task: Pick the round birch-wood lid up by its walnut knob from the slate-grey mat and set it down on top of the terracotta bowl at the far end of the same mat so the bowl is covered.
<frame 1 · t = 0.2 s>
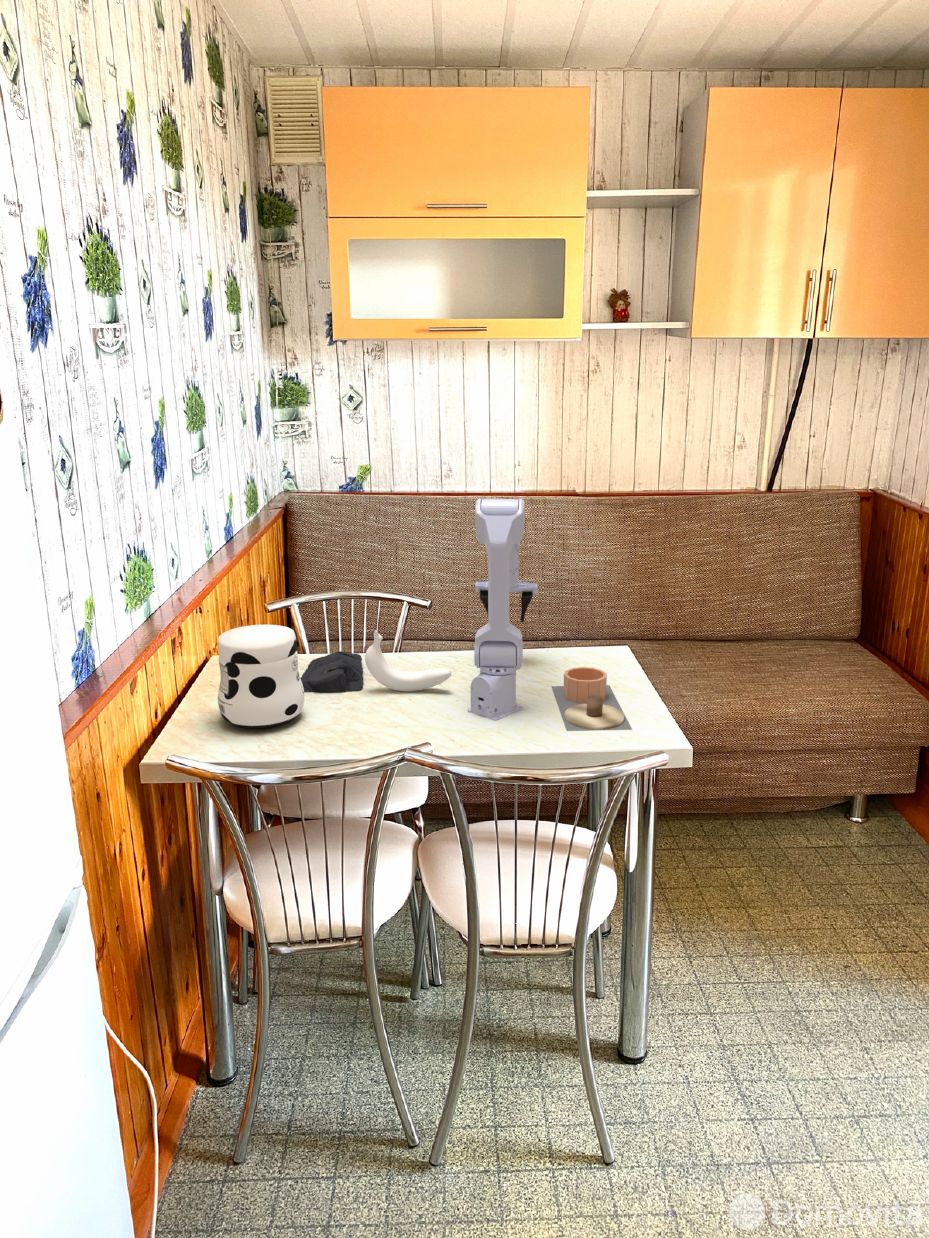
hand: (506, 619, 222), 11 cm above the table, tool pointing down, fingers open, 7 cm apart
milk container: (263, 719, 191), on the table
banana: (409, 692, 206), on the table
lid: (594, 718, 189), resting on mat
dark slate chunk: (333, 679, 216), on the table
bowl: (584, 695, 201), resting on mat
mat: (589, 708, 195), on the table
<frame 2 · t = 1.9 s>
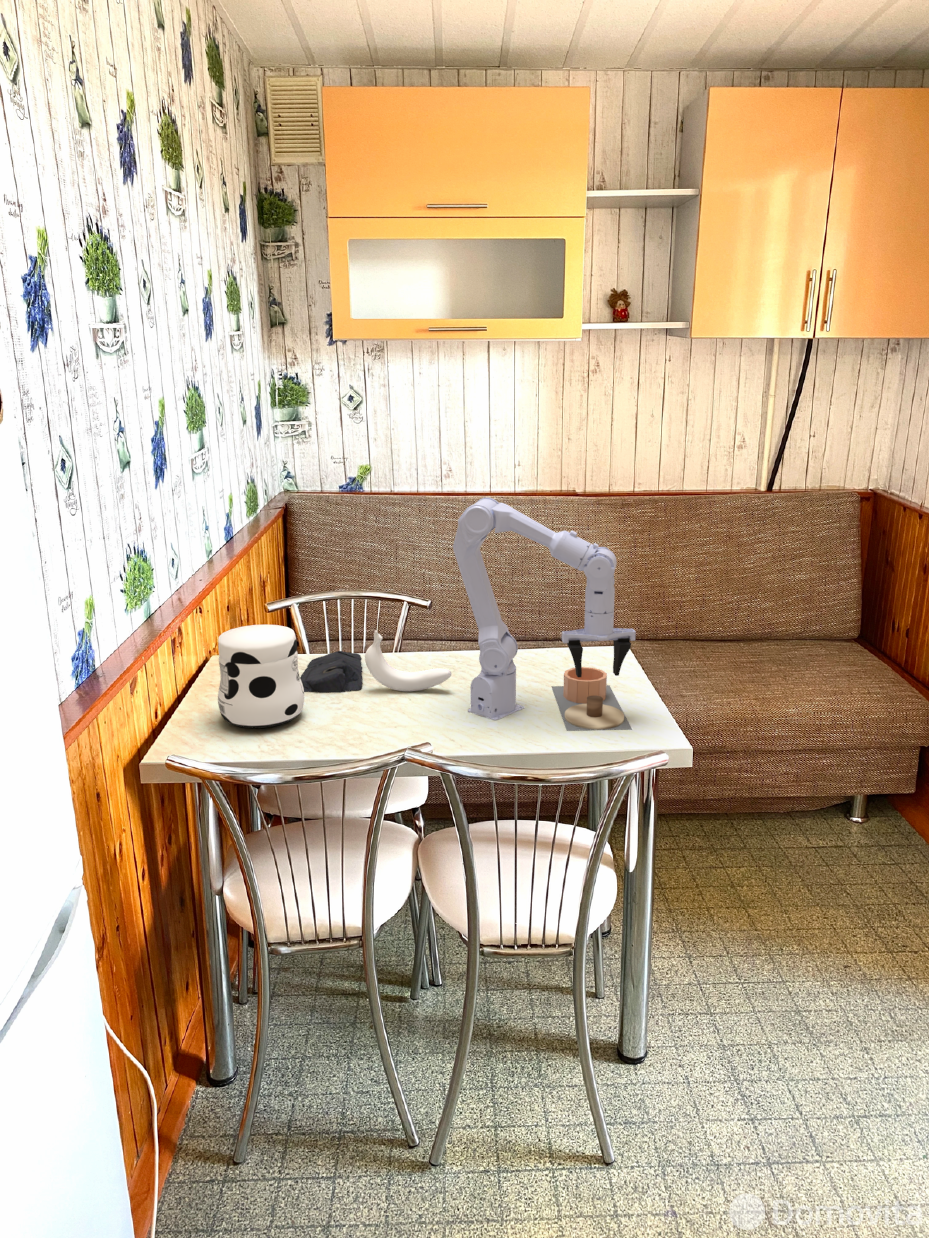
hand: (597, 674, 187), 9 cm above the table, tool pointing down, fingers open, 7 cm apart
nothing on the table moved.
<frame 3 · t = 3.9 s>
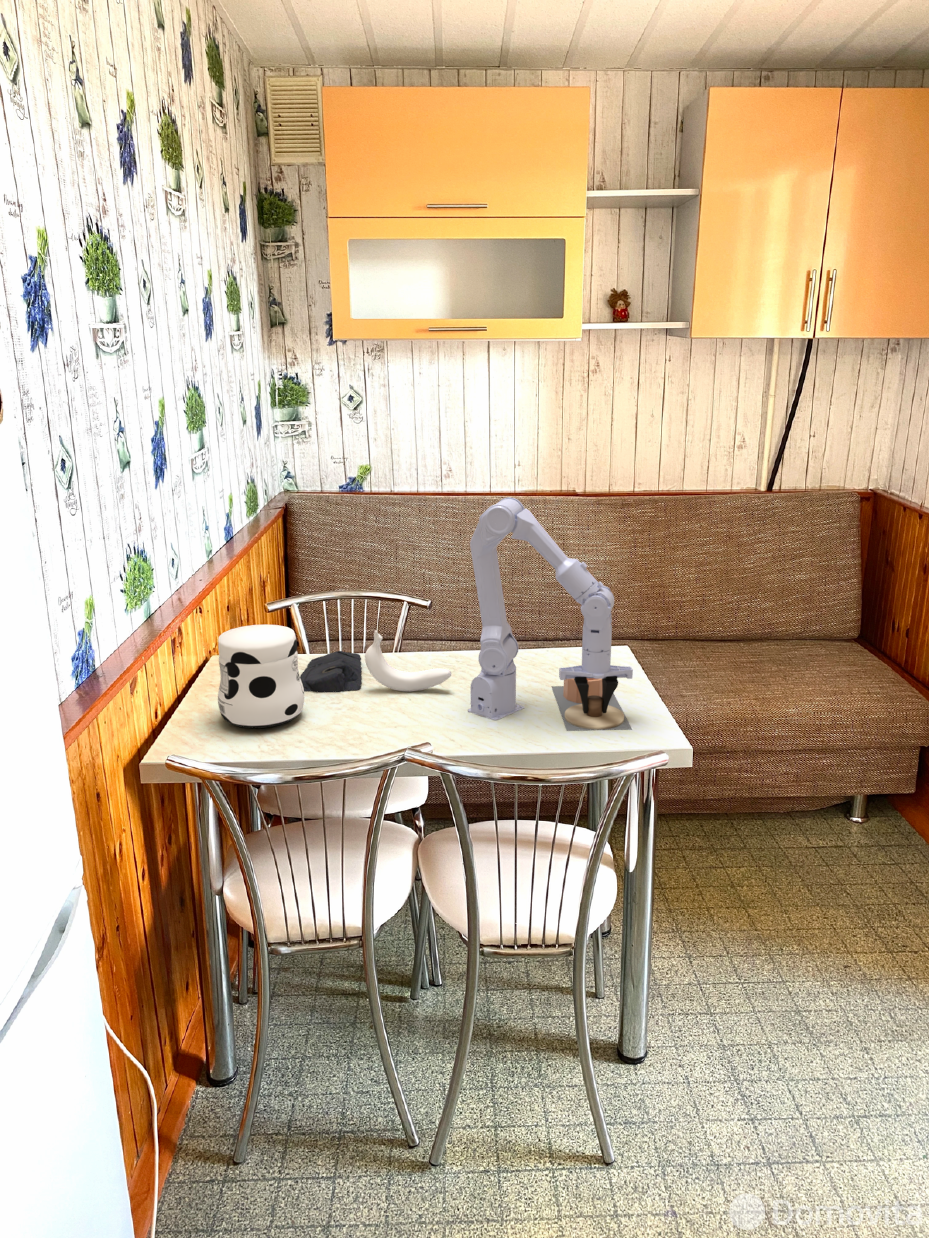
hand: (594, 711, 189), 2 cm above the table, tool pointing down, fingers closed on lid, 3 cm apart
lid: (594, 717, 189), resting on mat, touching gripper
everything else where it was.
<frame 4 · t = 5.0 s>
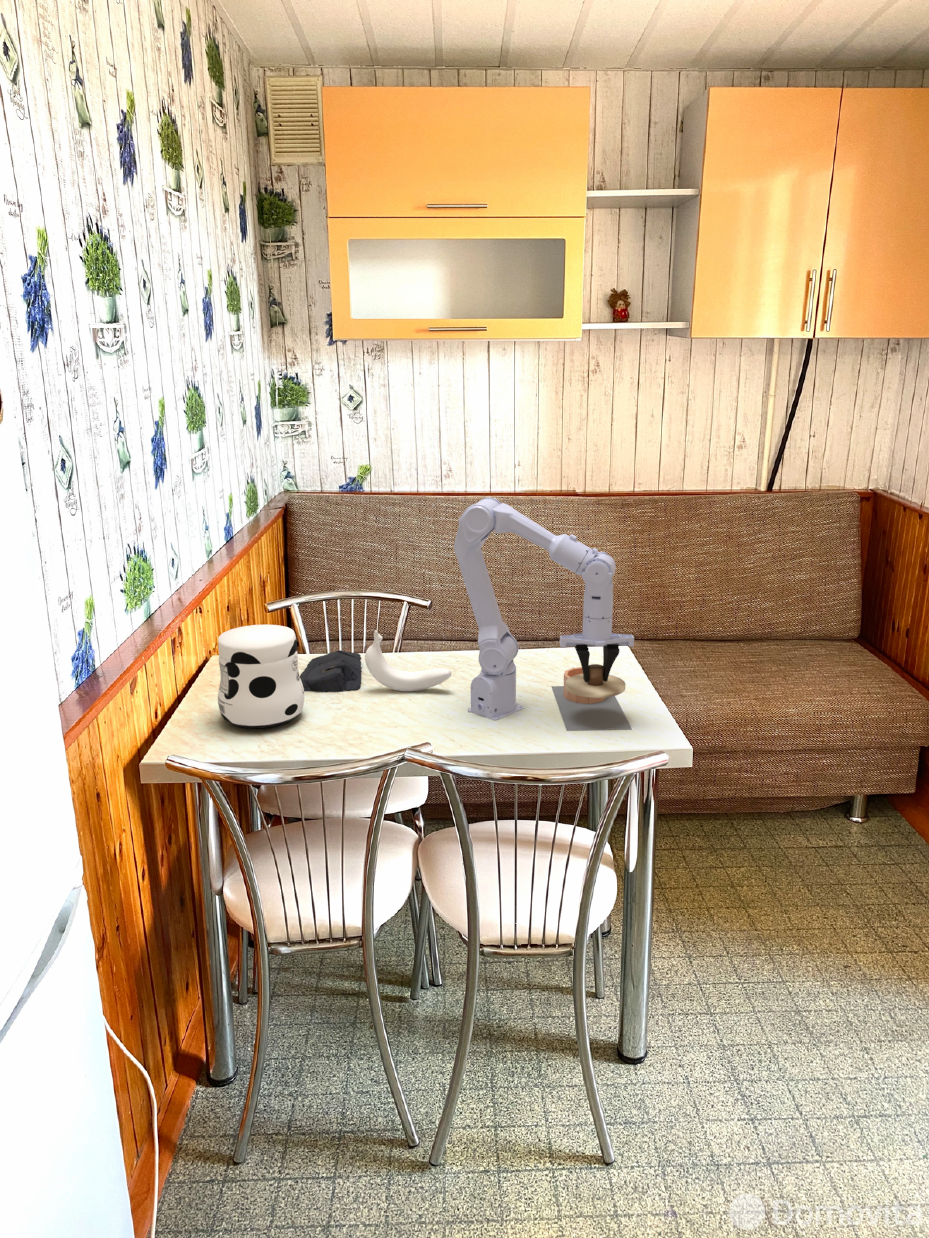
hand: (595, 680, 187), 9 cm above the table, tool pointing down, fingers closed on lid, 3 cm apart
lid: (595, 686, 187), point 7 cm above the table, touching gripper
everything else where it was.
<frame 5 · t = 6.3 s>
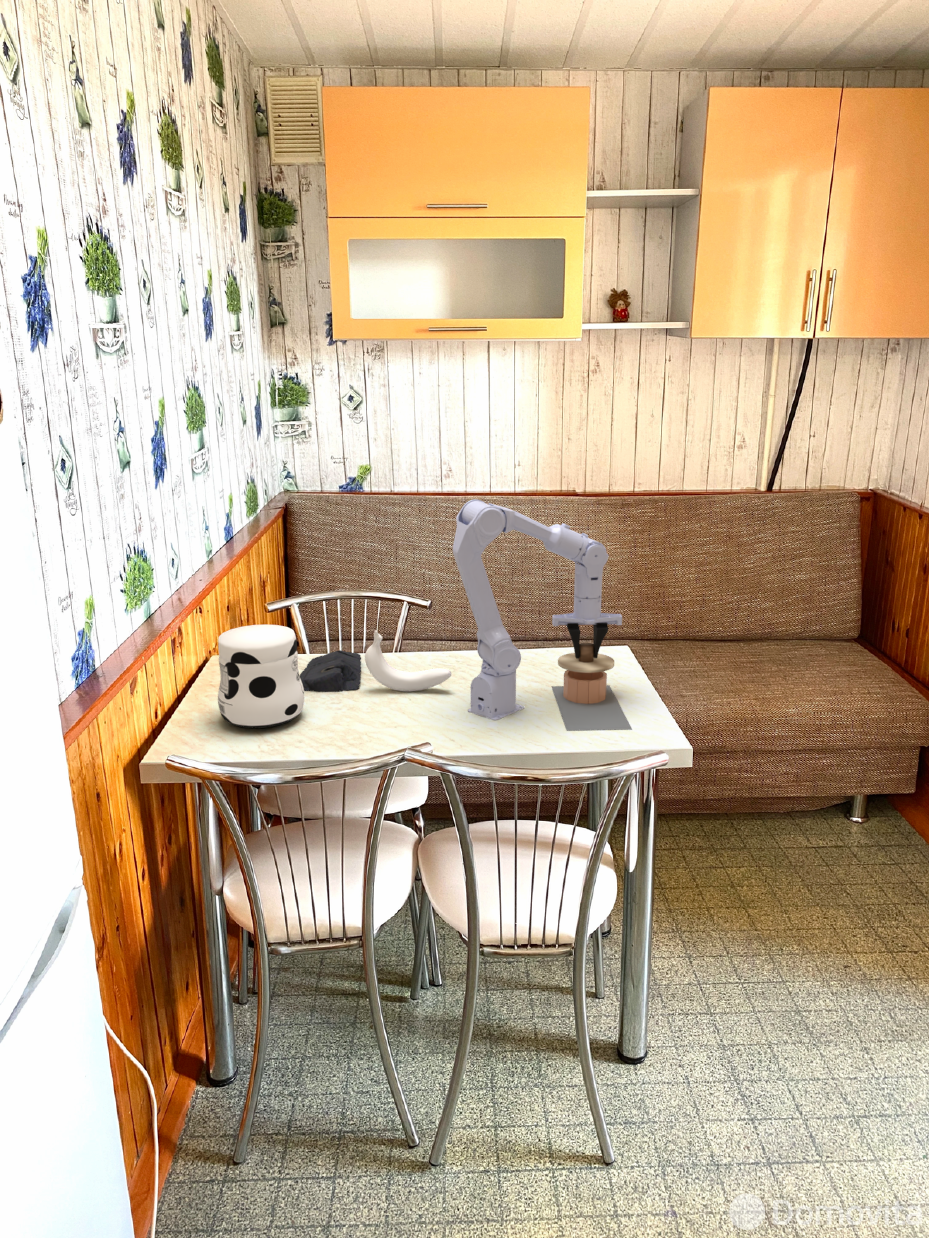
hand: (585, 657, 198), 9 cm above the table, tool pointing down, fingers closed on lid, 3 cm apart
lid: (585, 663, 199), point 8 cm above the table, touching gripper
everything else where it was.
when the fingers open (8 cm above the table, at t = 7.3 s): lid drops 1 cm, resting on bowl.
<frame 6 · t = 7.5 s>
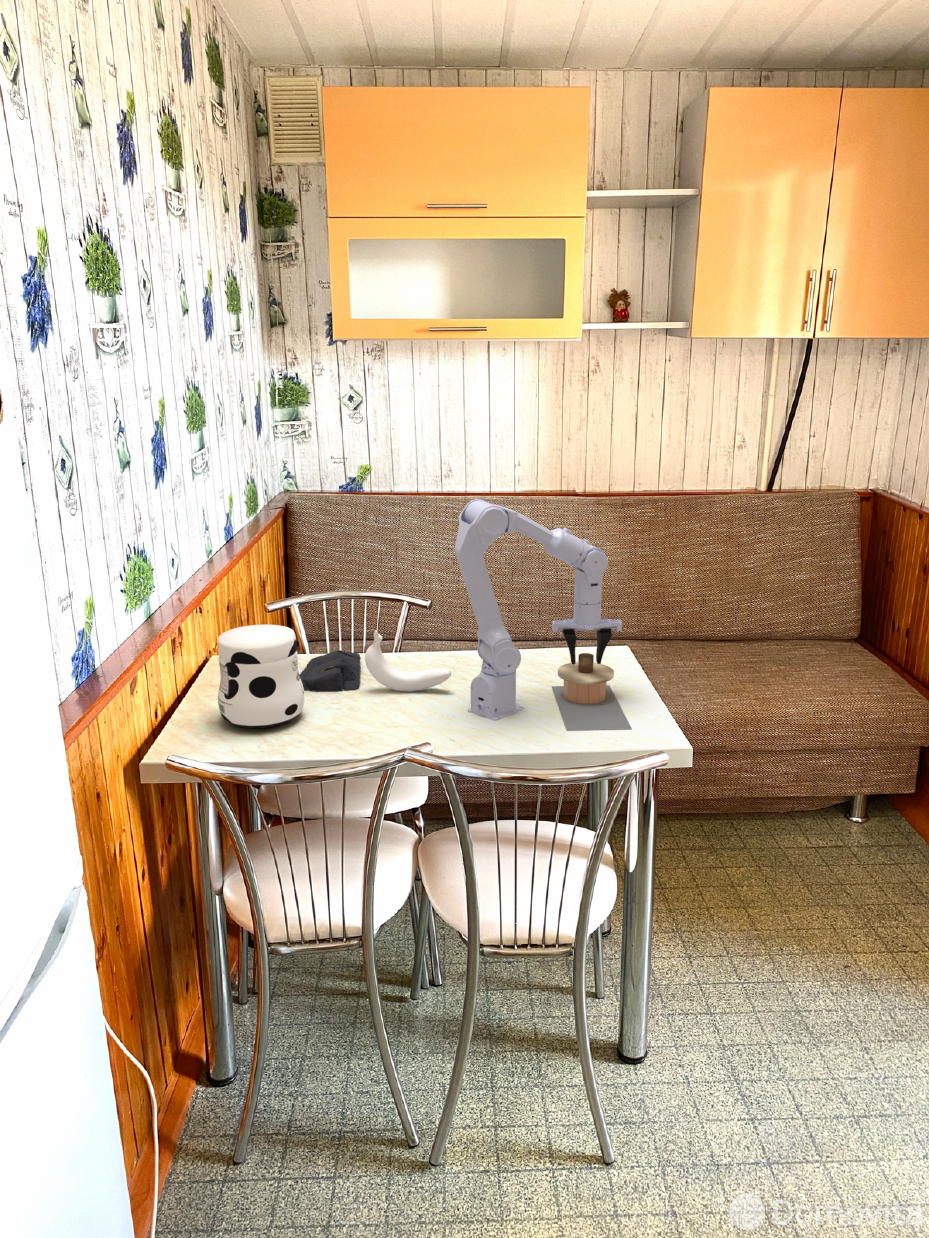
hand: (585, 662, 199), 8 cm above the table, tool pointing down, fingers open, 5 cm apart
lid: (585, 674, 199), point 5 cm above the table, touching bowl
everything else where it was.
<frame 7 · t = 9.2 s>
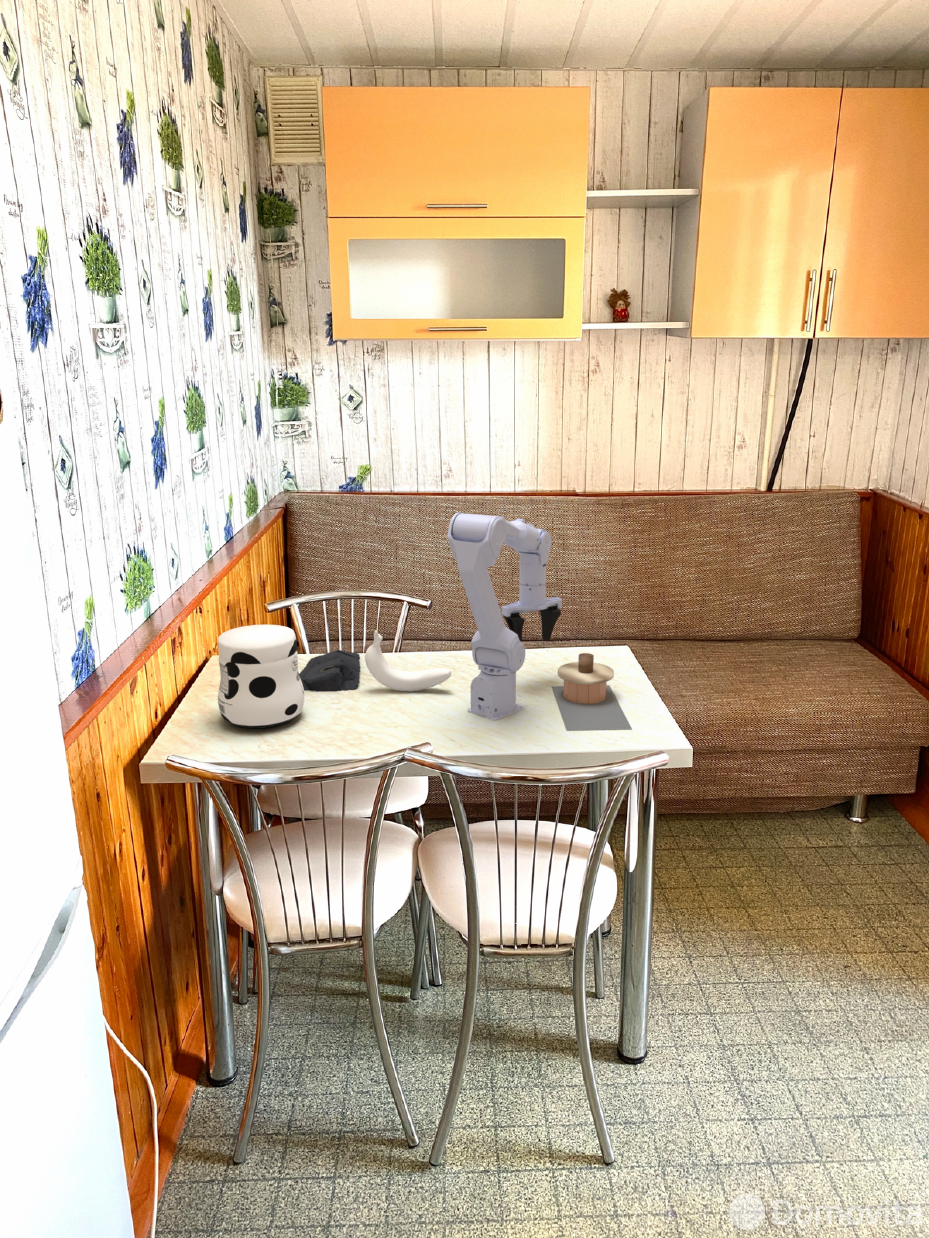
hand: (531, 642, 205), 10 cm above the table, tool pointing down, fingers open, 7 cm apart
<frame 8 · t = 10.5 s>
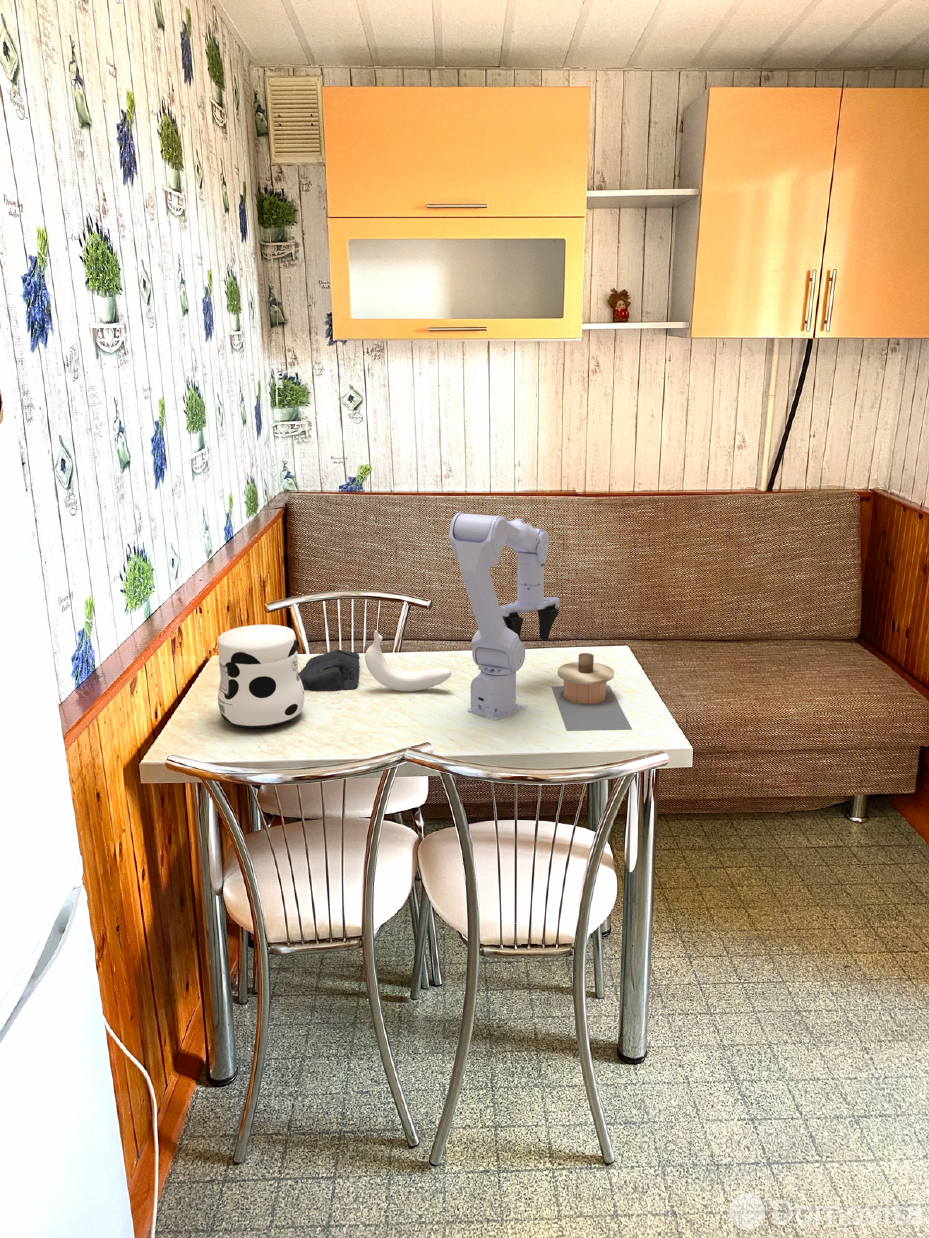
hand: (529, 642, 205), 10 cm above the table, tool pointing down, fingers open, 7 cm apart
at the end: lid 0.3 cm off-centre on the bowl, point 5.0 cm above the bowl's base; lid tilted 0°; the gripper is holding nothing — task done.
